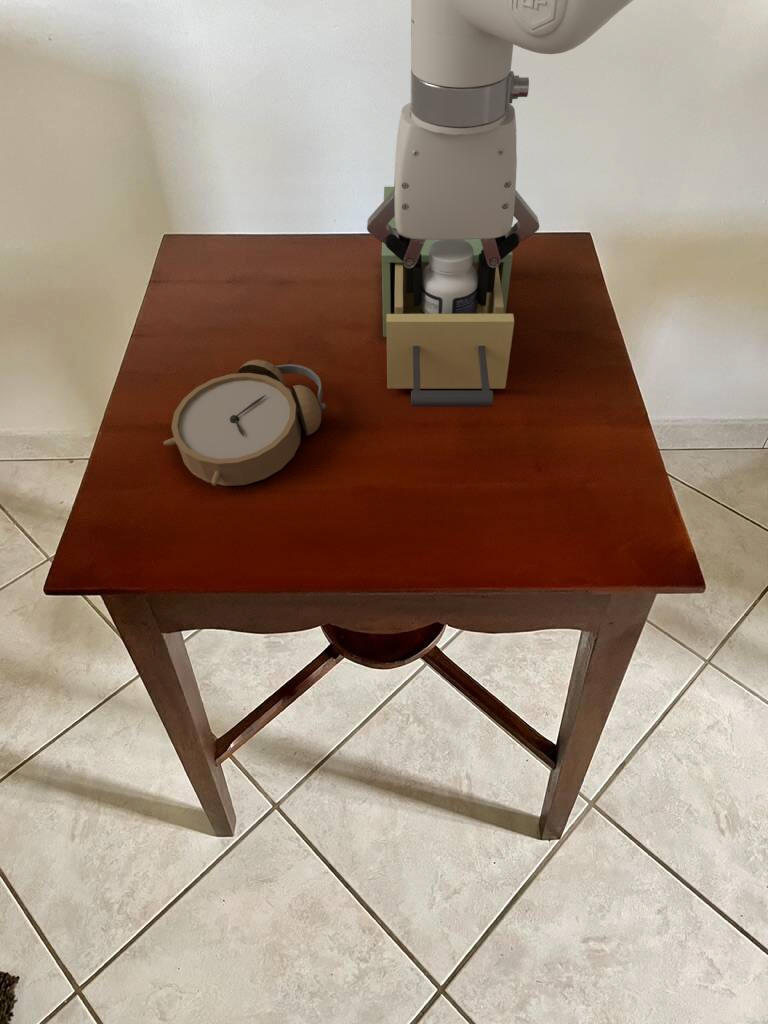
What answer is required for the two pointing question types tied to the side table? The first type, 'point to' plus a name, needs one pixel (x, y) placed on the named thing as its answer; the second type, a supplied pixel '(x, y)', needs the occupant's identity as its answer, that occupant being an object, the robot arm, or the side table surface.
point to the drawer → (448, 349)
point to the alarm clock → (245, 423)
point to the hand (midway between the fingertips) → (448, 296)
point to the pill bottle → (450, 279)
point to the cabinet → (391, 258)
